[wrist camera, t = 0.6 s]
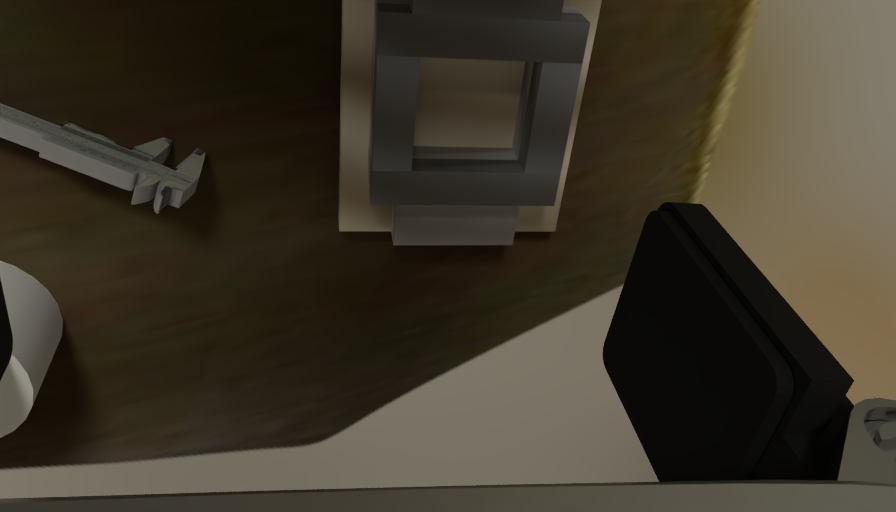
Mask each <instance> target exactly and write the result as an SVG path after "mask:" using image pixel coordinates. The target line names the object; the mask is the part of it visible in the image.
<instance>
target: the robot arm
mask: <svg viewBox="0 0 896 512" xmlns="http://www.w3.org/2000/svg"><path fill="white" fill-rule="evenodd" d="M12 349H13V336H12V330H11V325H10V321H9V316H8V311H7V307H6V302H5V297H4V293H3V288H2V283H1V279H0V381H1V379H2V377H3V374H4V372H5V370H6V368H7V366H8V364H9V362H10V359H11V355H12ZM603 361H604V365H605V368H606V370H607V372H608V374H609V377H610V378H611V381H612V383H613V385H614V387H615V389H616V392H617V394H618V396H619V398H620V400H621V402H622V404H623V406H624V408H625V410H626V412H627V415H628V417H629V419H630V421H631V423H632V425H633V427H634V429H635V432H636V433H637V436H638V438H639V440H640V442H641V444H642V446H643V448H644V450H645V453H646V454H647V457H648V459H649V461H650V463H651V465H652V467H653V470H654V472H655V474H656V476H657V478H658V480H659V482H628V483H627V482H624V483H572V484H525V485H523V484H522V485H481V486H479V485H477V486H437V487H397V488H396V487H395V488H357V489H356V488H355V489H317V490H280V491H247V492H244V491H243V492H211V493H178V494H145V495H112V496H80V497H50V498H49V497H47V498H15V499H0V512H896V401H895V400H888V399H883V398H874V399H865V400H863V401H861V402H859V403H857V404H855V406H854V405H853V404H852V403H851V401H850V400H849V399H848V398H847V397H846V393H847V392H848V390H849V388H850V387H851V385H852V383H853V382H854V380H853V379H852V377H851V376H850V375H849V374H848V373H847V372H846V371H845V370H844V368H843V367H842V366H841V365H840V364H839V362H838V361H837V360H836V359H835V358H834V357H833V355H832V354H831V353H830V352H829V351H828V349H827V348H826V347H825V346H824V345H823V344H822V342H821V341H820V340H819V339H818V338H817V337H816V335H815V334H814V333H813V332H812V331H811V330H810V328H808V326H807V325H806V324H805V323H804V321H803V320H802V319H801V318H800V317H799V316H798V314H797V313H796V312H795V311H794V310H793V309H792V307H791V306H790V305H789V304H788V303H787V302H786V300H785V299H784V298H783V297H782V296H781V295H780V293H779V292H778V291H777V290H776V289H775V288H774V286H773V285H772V284H771V283H770V282H769V281H768V279H767V278H766V277H765V276H764V275H763V274H762V272H761V271H760V270H759V269H758V268H757V267H756V265H755V264H754V263H753V262H752V261H751V260H750V258H749V257H748V256H747V255H746V254H745V253H744V251H743V250H742V249H741V248H740V247H739V246H738V244H737V243H736V242H735V241H734V240H733V238H732V237H731V236H730V235H729V234H728V233H727V232H726V230H725V229H724V228H723V227H722V226H721V225H720V223H719V222H718V221H717V220H716V219H715V217H714V216H713V215H712V214H711V213H710V212H709V210H708V209H707V208H706V207H705V206H703V205H702V204H691V203H674V202H665V203H663V204H662V205H661V206H660V207H659V208H658V210H657V211H652V212H650V213H649V215H648V216H647V218H646V220H645V223H644V226H643V229H642V232H641V235H640V238H639V241H638V244H637V247H636V250H635V253H634V256H633V259H632V262H631V265H630V268H629V271H628V274H627V277H626V280H625V283H624V286H623V289H622V292H621V295H620V298H619V301H618V304H617V307H616V310H615V313H614V316H613V319H612V322H611V325H610V328H609V331H608V333H607V336H606V340H605V342H604V347H603Z"/></svg>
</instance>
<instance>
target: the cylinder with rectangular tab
mask: <svg viewBox="0 0 896 512" xmlns="http://www.w3.org/2000/svg"><path fill="white" fill-rule="evenodd" d="M0 279H1V283H2V288H3V293H4V297H5V302H6V307H7V311H8V316H9V321H10V325H11V330H12V336H13V349H12V355H11V359H10V362H9V364H8V366H7V368H6V370H5V372H4V374H3V377H2V379H1V381H0V438H1V437H3V436H5V435H7V434H9V433H11V432H13V431H14V430H15V429H16V428H17V427H18V426H19V425H21V424H22V423H23V422H24V421H25V420H26V418H27V416H28V414H29V412H30V410H31V408H32V406H33V403H34V401H35V399H36V396H37V394H38V391H39V389H40V387H41V384H42V382H43V380H44V377H45V375H46V372H47V370H48V368H49V365H50V363H51V361H52V358H53V356H54V353H55V351H56V349H57V346H58V344H59V341H60V339H61V337H62V328H63V319H62V316H61V313H60V309H59V306H58V304H57V303H56V301H55V300H54V298H53V297H52V295H51V294H50V292H49V291H48V290H47V289H46V288H45V287H44V286H43V285H42V284H41V283H39V282H38V281H37V280H36V279H35V278H34V277H32V276H31V275H29V274H27V273H26V272H24V271H22V270H20V269H19V268H17V267H15V266H13V265H10V264H7V263H4V262H2V261H0Z"/></svg>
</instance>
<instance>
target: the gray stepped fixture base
mask: <svg viewBox="0 0 896 512" xmlns="http://www.w3.org/2000/svg"><path fill="white" fill-rule="evenodd" d="M601 2H602V0H342V30H341V91H340V152H339V213H338V219H339V231H391V234H392V240H393V245H513V240H514V234H515V231H555V229H556V224H557V219H558V214H559V209H560V204H561V199H562V194H563V190H564V185H565V180H566V175H567V170H568V165H569V160H570V155H571V150H572V145H573V140H574V135H575V130H576V125H577V120H578V115H579V111H580V106H581V101H582V96H583V91H584V86H585V81H586V76H587V71H588V66H589V61H590V56H591V51H592V46H593V41H594V36H595V32H596V27H597V22H598V17H599V12H600V7H601Z"/></svg>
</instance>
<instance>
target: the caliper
mask: <svg viewBox="0 0 896 512" xmlns="http://www.w3.org/2000/svg"><path fill="white" fill-rule="evenodd" d="M0 137H1V138H3V139H6V140H9V141H11V142H14V143H17V144H19V145H22V146H25V147H28V148H30V149H33V150H36V151H38V152H40V153H39V157H41V158H44V159H46V160H49V161H51V162H54V163H57V164H59V165H62V166H65V167H67V168H70V169H72V170H75V171H78V172H80V173H83V174H86V175H88V176H91V177H93V178H96V179H99V180H101V181H104V182H107V183H109V184H112V185H114V186H117V187H120V188H122V189H125V190H128V191H132V190H133V189H134V188H135V190H134V194H133V198H132V202H131V204H140V203H144V202H148V201H150V200H151V199H153V198H154V197H155V200H154V211H155V212H156V213H157V214H158V213H159V212H160V211H161V210H162V209H163V208H164V207H165V206H166V205H167V204H168V205H171V206H174V207H177V208H179V207H180V206H181V205H182V204H184V203H185V202H186V201H187V200H188V199H189V198H190V197H191V196H192V195H193V194H194V193H195V190H196V187H197V183H198V180H199V177H200V173H201V169H202V166H203V162H204V158H205V152H204V151H203V150H201V149H199V148H197V149H196V150H195V151H194V152H193V153H192V154H191V155H189V156H188V157H187V158H186V159H185V160H184V161H183V162H182V163H180V164H179V165H178V166H177V167H176V168H175V169H174V170H173V169H170V168H168V167H166V166H163V165H161V164H162V163H164V161H165V160H166V158H167V157H168V156H169V154H170V150H171V146H172V142H173V140H170V139H167V138H164V137H162V138H159V139H156V140H153V141H150V142H147V143H144V144H141V145H138V146H135V147H132V148H127V147H124V146H121V145H119V144H116V142H115V141H113V140H112V139H110V138H108V137H106V136H105V135H103V134H101V133H99V132H96V131H92V130H88V129H86V128H83V127H82V126H80V125H78V124H76V123H74V122H71V121H66V122H65V123H63V124H61V125H57V124H55V123H52V122H49V121H47V120H44V119H41V118H39V117H36V116H34V115H31V114H28V113H26V112H23V111H20V110H18V109H15V108H13V107H10V106H7V105H5V104H2V103H0Z"/></svg>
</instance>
